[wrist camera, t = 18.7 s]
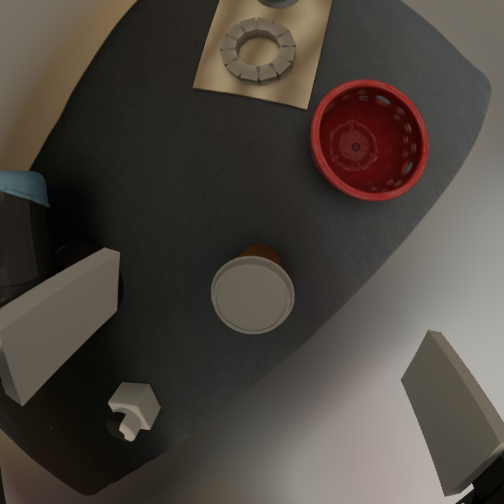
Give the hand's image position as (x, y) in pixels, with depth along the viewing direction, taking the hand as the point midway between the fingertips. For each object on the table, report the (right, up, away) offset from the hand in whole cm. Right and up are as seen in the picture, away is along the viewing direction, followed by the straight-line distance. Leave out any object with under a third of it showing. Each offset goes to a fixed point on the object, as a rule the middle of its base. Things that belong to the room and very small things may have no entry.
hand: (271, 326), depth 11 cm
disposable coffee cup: (0, +1, +33) cm, 33 cm away
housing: (+2, +35, +23) cm, 42 cm away
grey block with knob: (-24, -27, +44) cm, 57 cm away
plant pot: (+13, +17, +27) cm, 34 cm away
